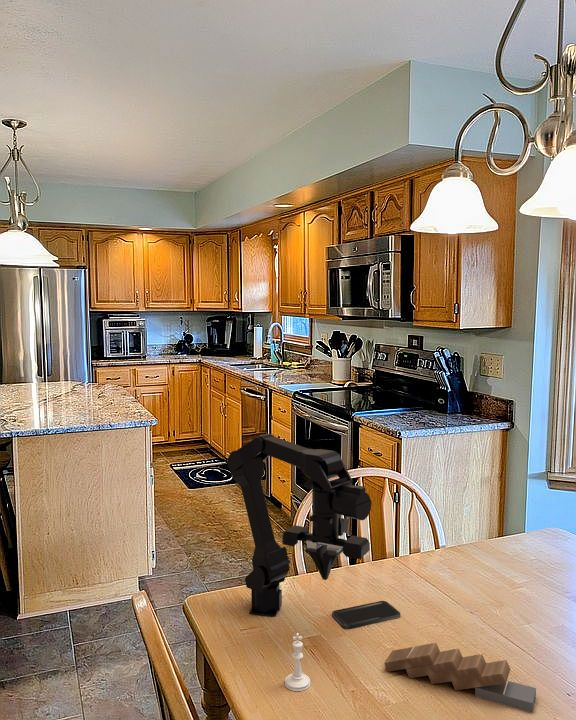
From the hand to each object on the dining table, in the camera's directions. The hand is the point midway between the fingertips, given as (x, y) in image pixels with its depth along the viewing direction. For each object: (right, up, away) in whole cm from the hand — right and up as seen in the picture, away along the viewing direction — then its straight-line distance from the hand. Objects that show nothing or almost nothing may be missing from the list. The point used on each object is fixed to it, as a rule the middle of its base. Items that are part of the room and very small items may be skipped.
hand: (325, 579), depth 136 cm
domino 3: (+20, -13, -14) cm, 28 cm away
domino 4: (+24, -13, -16) cm, 32 cm away
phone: (+10, -13, +10) cm, 19 cm away
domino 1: (+13, -13, -10) cm, 21 cm away
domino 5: (+28, -14, -18) cm, 36 cm away
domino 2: (+16, -13, -12) cm, 24 cm away
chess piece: (-6, -15, -16) cm, 23 cm away
